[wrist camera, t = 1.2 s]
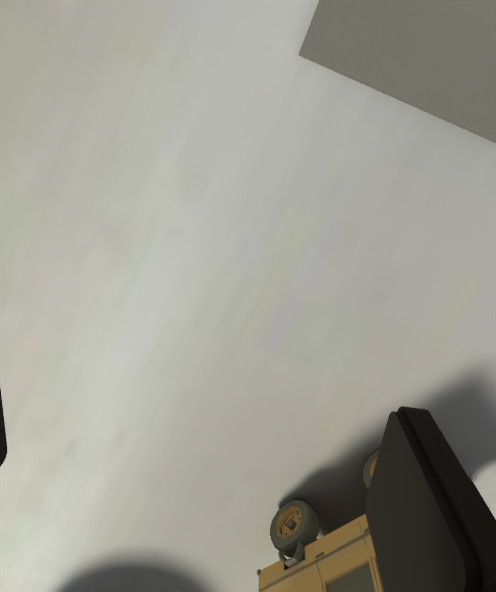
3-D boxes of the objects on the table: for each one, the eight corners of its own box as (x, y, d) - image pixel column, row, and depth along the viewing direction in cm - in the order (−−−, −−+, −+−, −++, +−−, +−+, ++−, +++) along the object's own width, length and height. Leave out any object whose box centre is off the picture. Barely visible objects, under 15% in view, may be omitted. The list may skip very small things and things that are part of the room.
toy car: (465, 493, 40) (575, 679, 26) (311, 574, 45) (332, 768, 30) (409, 425, 38) (497, 588, 23) (253, 517, 42) (246, 700, 28)
